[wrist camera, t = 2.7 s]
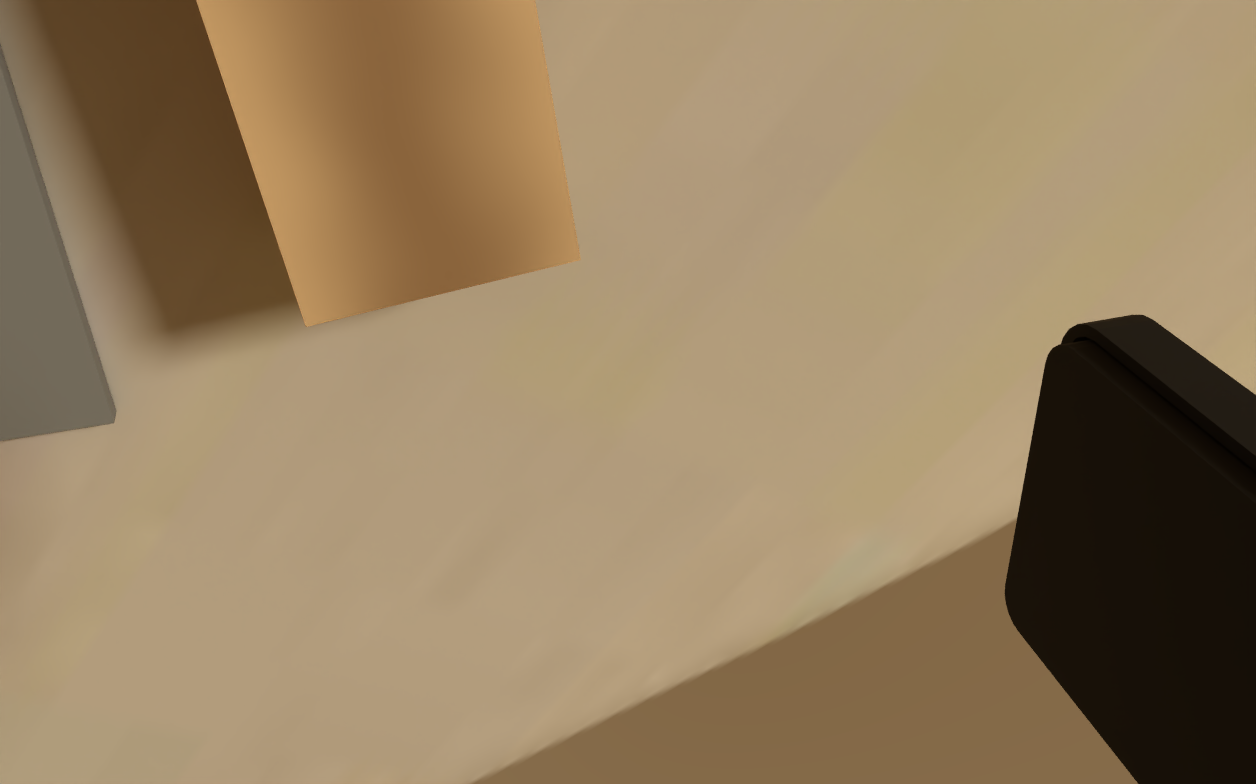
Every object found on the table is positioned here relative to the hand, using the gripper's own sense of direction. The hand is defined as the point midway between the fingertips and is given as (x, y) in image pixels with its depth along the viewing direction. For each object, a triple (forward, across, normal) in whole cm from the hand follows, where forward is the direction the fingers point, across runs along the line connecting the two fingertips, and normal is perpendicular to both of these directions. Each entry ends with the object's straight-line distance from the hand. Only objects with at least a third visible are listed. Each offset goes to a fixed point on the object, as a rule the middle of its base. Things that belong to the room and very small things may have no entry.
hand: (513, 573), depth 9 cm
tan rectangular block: (+18, 0, -1) cm, 18 cm away
